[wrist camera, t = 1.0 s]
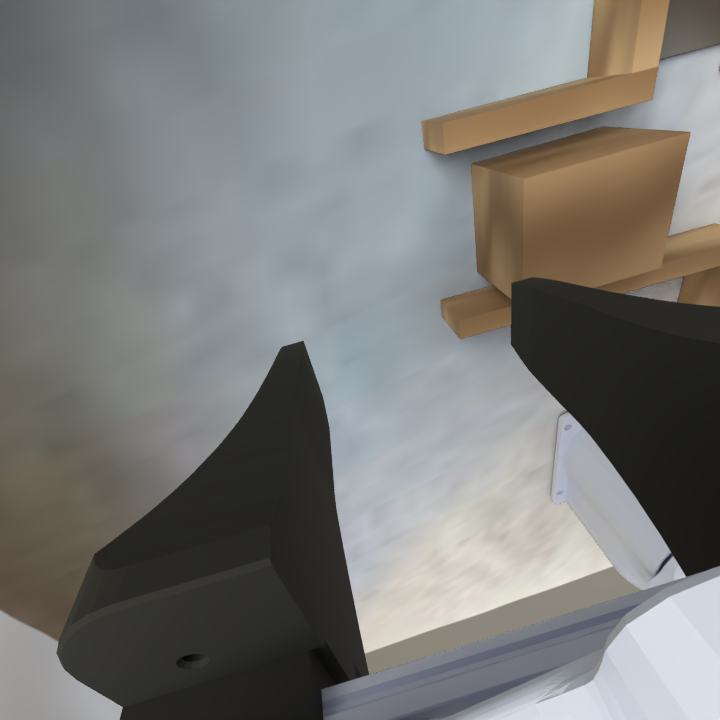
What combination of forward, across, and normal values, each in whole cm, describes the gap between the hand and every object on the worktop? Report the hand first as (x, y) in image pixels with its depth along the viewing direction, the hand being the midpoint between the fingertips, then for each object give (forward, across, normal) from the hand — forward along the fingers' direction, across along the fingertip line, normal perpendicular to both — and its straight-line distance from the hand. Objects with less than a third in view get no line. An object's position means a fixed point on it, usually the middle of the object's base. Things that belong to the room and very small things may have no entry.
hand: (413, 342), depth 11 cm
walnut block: (+9, -8, 0) cm, 12 cm away
